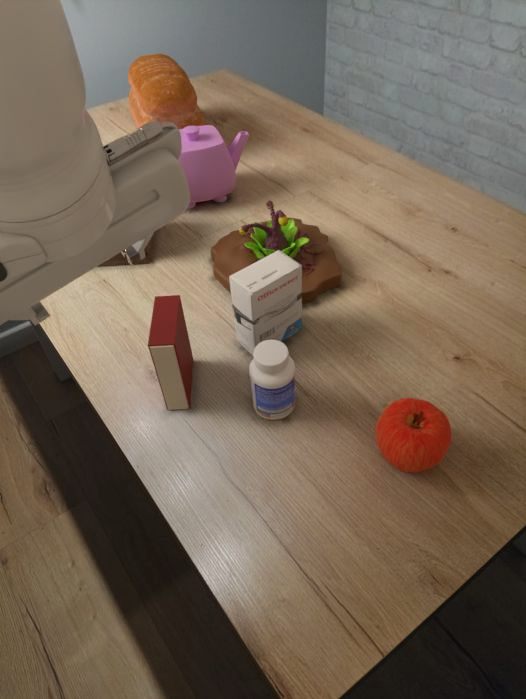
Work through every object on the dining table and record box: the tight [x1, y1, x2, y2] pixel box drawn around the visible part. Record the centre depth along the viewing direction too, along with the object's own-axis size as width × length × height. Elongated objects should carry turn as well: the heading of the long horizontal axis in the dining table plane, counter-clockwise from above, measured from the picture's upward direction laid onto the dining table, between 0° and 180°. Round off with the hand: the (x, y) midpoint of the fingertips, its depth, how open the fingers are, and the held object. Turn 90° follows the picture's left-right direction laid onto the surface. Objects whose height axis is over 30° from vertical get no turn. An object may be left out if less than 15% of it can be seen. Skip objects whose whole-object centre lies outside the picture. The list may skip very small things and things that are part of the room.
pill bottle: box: [248, 340, 296, 421], centre depth 61 cm, size 5×5×10 cm
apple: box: [375, 397, 453, 473], centre depth 57 cm, size 8×8×8 cm
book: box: [147, 294, 195, 411], centre depth 63 cm, size 3×8×12 cm, turn 2°
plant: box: [210, 200, 342, 305], centre depth 79 cm, size 20×20×11 cm
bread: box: [127, 53, 207, 130], centre depth 110 cm, size 14×26×15 cm, turn 19°
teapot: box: [178, 124, 250, 210], centre depth 95 cm, size 20×12×13 cm, turn 109°
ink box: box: [229, 250, 303, 357], centre depth 69 cm, size 8×5×12 cm, turn 130°
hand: (87, 284), depth 44 cm, fingers open, 8 cm apart
